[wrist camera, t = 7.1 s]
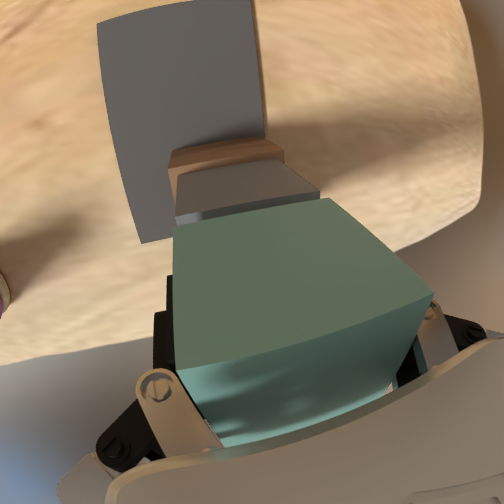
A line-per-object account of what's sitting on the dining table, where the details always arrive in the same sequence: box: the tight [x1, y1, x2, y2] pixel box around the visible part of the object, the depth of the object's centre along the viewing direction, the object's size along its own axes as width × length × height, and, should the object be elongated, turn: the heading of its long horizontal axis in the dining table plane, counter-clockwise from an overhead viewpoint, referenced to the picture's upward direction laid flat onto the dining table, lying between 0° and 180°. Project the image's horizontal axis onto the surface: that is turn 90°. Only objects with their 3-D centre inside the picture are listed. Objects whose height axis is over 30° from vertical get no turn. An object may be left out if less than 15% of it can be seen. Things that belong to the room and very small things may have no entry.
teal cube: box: [173, 198, 434, 448], centre depth 9 cm, size 6×6×6 cm
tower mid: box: [175, 159, 320, 226], centre depth 15 cm, size 6×6×6 cm
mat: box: [97, 0, 265, 244], centre depth 19 cm, size 20×12×1 cm, turn 6°
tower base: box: [168, 136, 284, 206], centre depth 20 cm, size 7×7×6 cm
